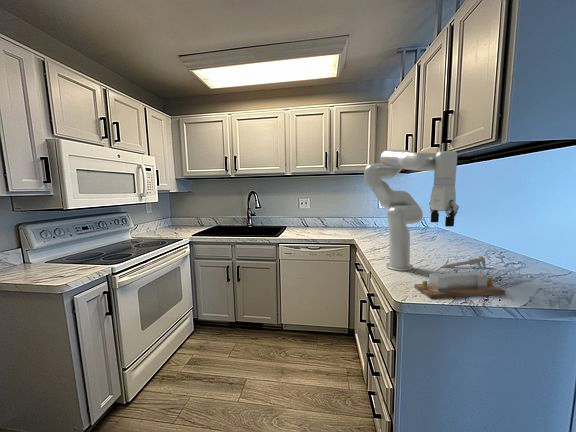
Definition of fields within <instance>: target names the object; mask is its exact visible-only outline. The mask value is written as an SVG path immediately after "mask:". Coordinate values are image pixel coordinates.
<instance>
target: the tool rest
mask: <svg viewBox="0 0 576 432" xmlns="http://www.w3.org/2000/svg"><path fill="white" fill-rule="evenodd" d="M413 286H414V289H416V290H417V291H419V292H420V293H421V294H423V295H425V296H426V297H428V298H429V299H434V300H435V299H448V298H450V299H451V298H465V297H478V296H479V297H481V296H496V295H505V294H506V293H505V290H504V289H502V288H500V287H497V286H496V285H493V277H492V276H487V288H482V289H477V288H463V289H447V291H437V290H435V289H434V288H432V287H430V286H429V282H428V281H427V280H422V282H421V283H414V285H413Z"/></svg>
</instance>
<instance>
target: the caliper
mask: <svg viewBox="0 0 576 432" xmlns="http://www.w3.org/2000/svg"><path fill="white" fill-rule="evenodd" d="M464 265H470V266H473V265H474V266H475V265H477V266H478V268H480V269H481V268H484V269H485V268H486V258H485V257H483V254H482V255H478V257H474V258H470V259H468V260H464V261H459V262H458V261H456V262H453V263H447V264H442V265H440V268H442V269H446V268H455V267H458V266H459V267H460V266H464Z"/></svg>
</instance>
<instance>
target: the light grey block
mask: <svg viewBox="0 0 576 432" xmlns="http://www.w3.org/2000/svg"><path fill="white" fill-rule="evenodd" d="M428 274H429V277H428V279H429V280H428V283H429V286H430V287H432V288H434V289H435V290H437V291H447V289H463V288H477V289H482V288H487V277H488V274H484V273H482V272H479V271H477V270H469V271H468V270H467V271H466V272H449V273H448V272H447V273H446V272H445V273H438V272H432V273H431V272H430V273H428Z"/></svg>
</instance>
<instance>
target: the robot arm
mask: <svg viewBox="0 0 576 432" xmlns="http://www.w3.org/2000/svg"><path fill="white" fill-rule="evenodd" d="M380 162H381V163H372V164H371V163H370V164H369V165H367V166H366V167H365V168H364V171H363V177H364V182H365V183H366V184H367V187H369V189H370V190H371V191H372V192H373V193H374V195H375V197H376V198H377V200H378V201H379V203H380V204H381V206H382V207H383V208H384V209H386V210H387V209H388V211H387V214H386V218H387V222H388V231H389V235H388V236H389V237H388V239H389V240H388V241H389V243H388V245H389V248H388V249H389V251H388V253H389V254H388V255H389V256H388V259H389V262H387V263H386V265H385V267H386V268H387V269H389V270H393V271H397V272H398V271H400V272H403V271H405V272H406V271H411V270H414V266H413V264H411V255H410V254H411V252H410V249H411V247H410V245H411V243H410V242H411V237H410V236H411V234H410V230H409V228H408V227H407V225H412V224H418V223H420V222H421V221H422V219H423V216H424V215H423V214H424V213H423V210H422V208H421V207H420V205H419V203H417V202H416V200H415V199H414V197H413V196H412V195H411V194H410V193H409V192H408V191H406V190H393V188H391V187H390V185H389V184H388V183H387V182H386V181H384V180H385V179H387V180H388V179H393V178H394V177H396V176H397V175H398V174H399V173H400V172H401V171H402V170H408V171H414V172H415V171H416V172H419V171H420V172H423V171H424V172H425V171H426V172H427V171H428V172H432V171H433V172H434V174H433V186H432V189H431V194H430V201H429V203H428V204H429V209H430V213H431V214H430V222H431V223H439V219H440V213H439V212H445V214H446V216H445V223H444V226H445V227H446V228H448V227H455V226H454V224H455V217H456V215H457V214H458V210H459V208H460V206H459V205H458V204H457V201H456V198H457V197H456V195H457V194H456V178H457V166H458V153H457V151H455V150H446V151H445V150H444V151H438V152H414V151H413V152H412V151H410V150H407V149H406V150H405V149H387V150H384V151H383V152H382V153H381V155H380Z"/></svg>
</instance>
